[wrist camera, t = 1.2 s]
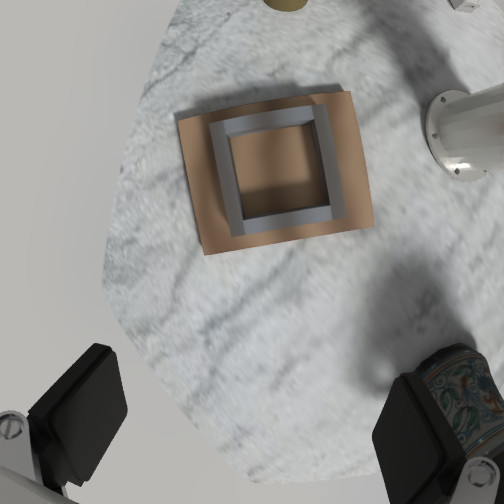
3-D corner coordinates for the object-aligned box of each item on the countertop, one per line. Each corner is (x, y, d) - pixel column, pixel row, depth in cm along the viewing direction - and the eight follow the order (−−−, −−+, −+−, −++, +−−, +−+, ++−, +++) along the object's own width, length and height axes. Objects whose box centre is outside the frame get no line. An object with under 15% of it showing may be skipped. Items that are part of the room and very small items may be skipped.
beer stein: (491, 340, 37) (575, 422, 13) (449, 424, 41) (497, 512, 17) (419, 341, 37) (508, 461, 13) (379, 433, 42) (416, 546, 18)
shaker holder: (346, 94, 31) (356, 83, 26) (370, 224, 34) (383, 230, 30) (181, 123, 33) (169, 115, 28) (206, 252, 36) (198, 262, 32)
